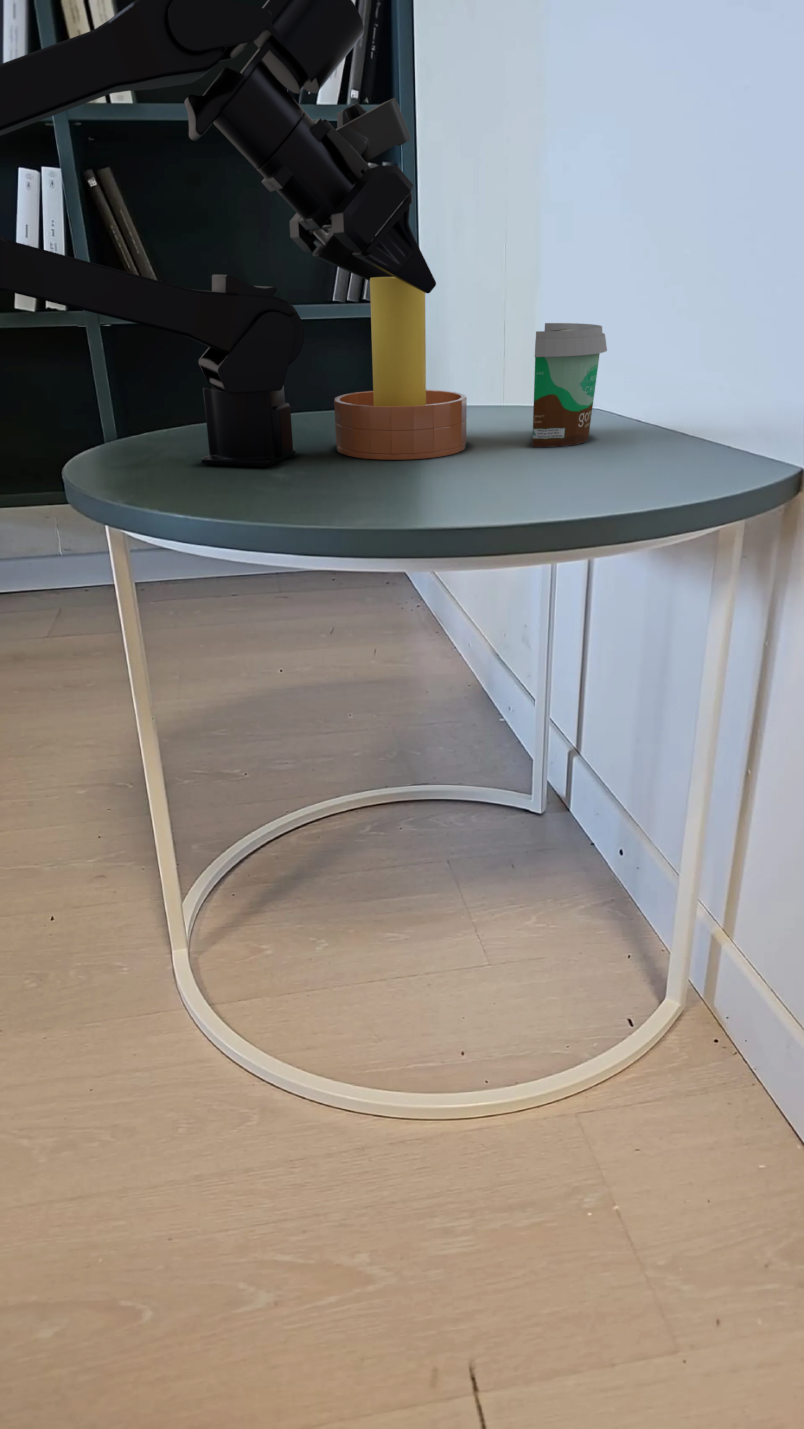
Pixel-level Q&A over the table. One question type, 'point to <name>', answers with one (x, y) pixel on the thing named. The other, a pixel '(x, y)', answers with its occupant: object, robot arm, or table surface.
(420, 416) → the bowl
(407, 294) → the tall yellow cylinder
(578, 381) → the paper coffee cup
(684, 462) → the table surface
